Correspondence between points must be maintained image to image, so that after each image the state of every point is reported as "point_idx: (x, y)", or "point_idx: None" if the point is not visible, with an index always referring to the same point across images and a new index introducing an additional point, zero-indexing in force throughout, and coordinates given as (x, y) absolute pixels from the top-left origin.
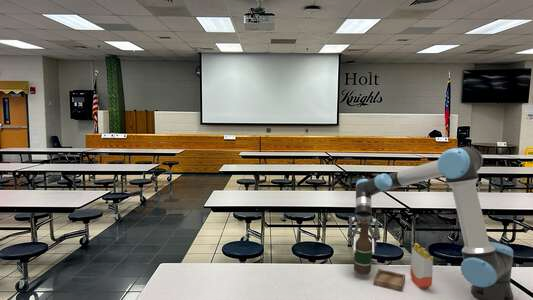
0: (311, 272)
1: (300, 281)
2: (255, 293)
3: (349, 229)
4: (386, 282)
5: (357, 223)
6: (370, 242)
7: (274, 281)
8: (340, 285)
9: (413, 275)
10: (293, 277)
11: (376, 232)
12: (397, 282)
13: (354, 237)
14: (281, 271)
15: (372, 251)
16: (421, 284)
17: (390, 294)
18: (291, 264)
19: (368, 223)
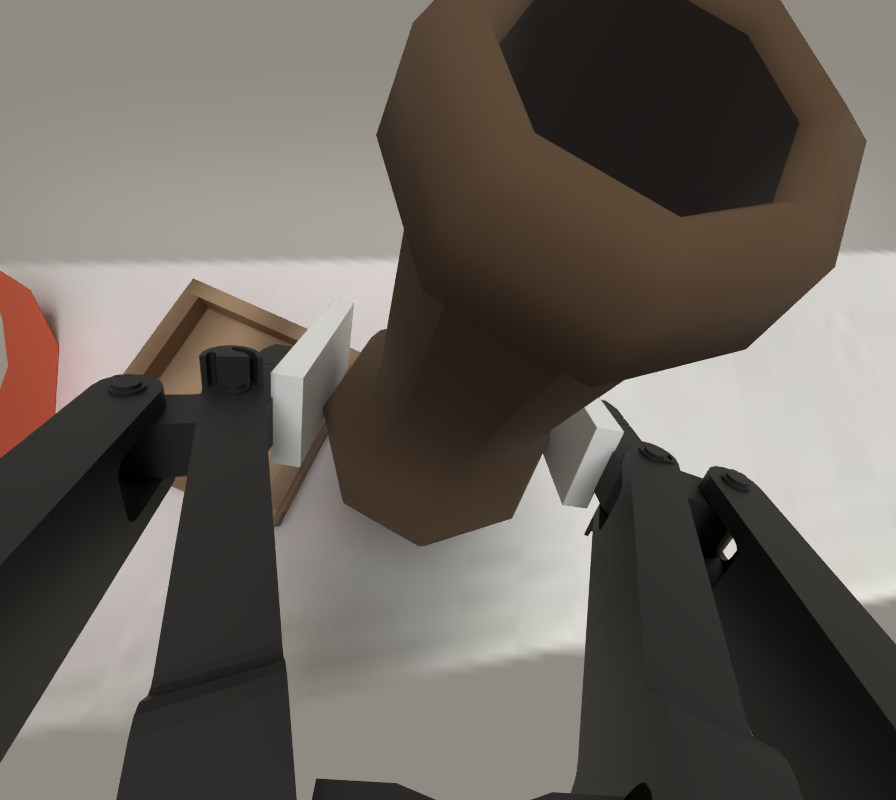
0: None
1: (752, 376)
2: (892, 266)
3: (801, 562)
4: (283, 319)
5: (763, 749)
6: (345, 382)
7: (863, 367)
8: None
9: (10, 409)
10: (794, 416)
11: (99, 530)
12: (191, 373)
13: (611, 423)
14: (870, 480)
15: (351, 306)
16: (28, 302)
17: (292, 270)
18: (850, 590)
19: (405, 83)
